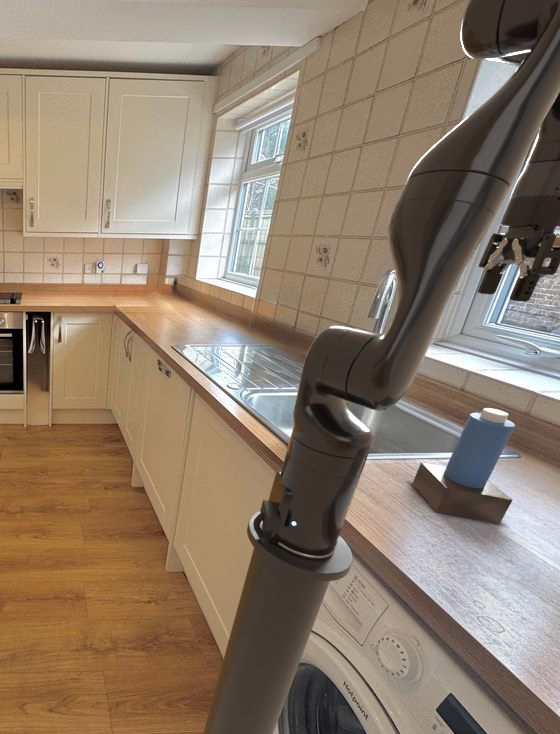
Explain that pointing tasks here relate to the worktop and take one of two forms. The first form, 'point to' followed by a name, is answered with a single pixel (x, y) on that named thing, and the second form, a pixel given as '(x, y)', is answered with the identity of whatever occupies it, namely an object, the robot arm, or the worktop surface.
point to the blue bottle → (479, 448)
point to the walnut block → (460, 495)
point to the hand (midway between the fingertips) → (501, 297)
